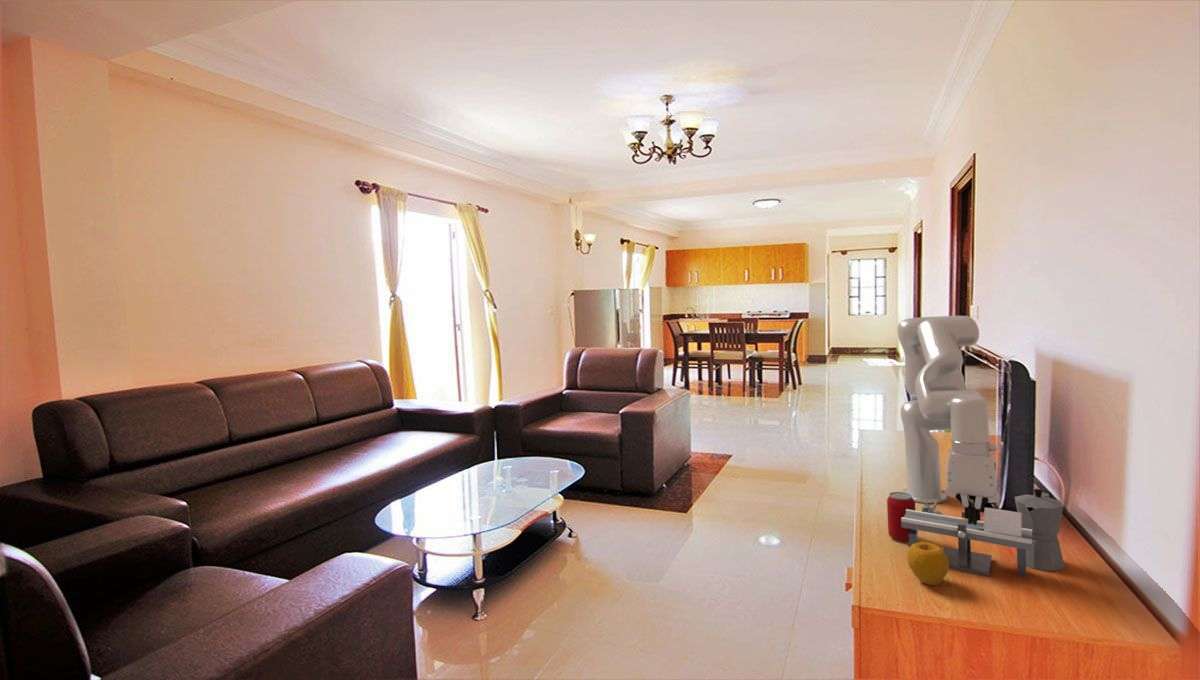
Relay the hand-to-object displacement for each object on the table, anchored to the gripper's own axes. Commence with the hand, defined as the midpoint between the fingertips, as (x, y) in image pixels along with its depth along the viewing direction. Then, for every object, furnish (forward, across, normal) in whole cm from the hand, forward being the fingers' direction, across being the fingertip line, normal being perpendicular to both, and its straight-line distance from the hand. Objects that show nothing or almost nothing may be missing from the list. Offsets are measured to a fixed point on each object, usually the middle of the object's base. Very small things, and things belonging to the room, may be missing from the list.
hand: (972, 522), depth 132 cm
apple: (+11, +8, +14) cm, 19 cm away
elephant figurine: (+11, +10, -22) cm, 27 cm away
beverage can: (+11, +17, -8) cm, 22 cm away
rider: (+2, -6, 0) cm, 6 cm away
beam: (+3, +2, 0) cm, 4 cm away
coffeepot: (+11, -13, -10) cm, 19 cm away
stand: (+10, +2, 0) cm, 11 cm away
